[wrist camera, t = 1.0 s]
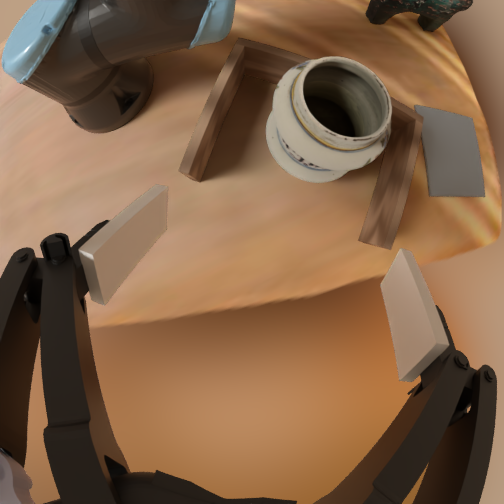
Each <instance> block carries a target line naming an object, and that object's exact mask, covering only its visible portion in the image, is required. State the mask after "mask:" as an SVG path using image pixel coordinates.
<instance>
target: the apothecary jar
mask: <svg viewBox="0 0 504 504" xmlns="http://www.w3.org/2000/svg"><path fill="white" fill-rule="evenodd" d="M272 107H273V110H272V111H271V113H270V115H269V117H268V120H267V124H266V140H267V144H268V147H269V150H270V152H271V154H272V156H273V157H274V159H275V160H276V162H277V163H278V164H279V165H280V166H281V168H282V169H284V170H285V171H286V172H288V173H289V174H291V175H292V176H294V177H296V178H299V179H301V180H304V181H308V182H314V183H323V182H329V181H333V180H336V179H338V178H340V177H342V176H344V175H345V174H346V173H347V172H349V171H350V170H355V169H359V168H361V167H364V166H366V165H368V164H369V163H371V162H372V161H374V160H375V159H376V158H377V157H378V156H379V155H380V154H381V153H382V151H383V150H384V148H385V147H386V145H387V143H388V140H389V137H390V133H391V114H392V105H391V99H390V96H389V93H388V91H387V89H386V87H385V86H384V84H383V83H382V81H381V80H380V79H379V78H378V76H377V75H376V74H375V73H373V72H372V71H371V70H370V69H369V68H367V67H366V66H364V65H362V64H361V63H359V62H357V61H354V60H352V59H349V58H345V57H339V56H330V57H323V58H320V59H314V60H309V61H305V62H302V63H300V64H298V65H296V66H294V67H293V68H291V69H290V70H289V71H287V72H286V73H285V74H284V75H283V77H282V78H281V79H280V81H279V82H278V84H277V86H276V89H275V92H274V95H273V103H272Z"/></svg>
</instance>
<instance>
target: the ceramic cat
mask: <svg viewBox="0 0 504 504" xmlns="http://www.w3.org/2000/svg"><path fill="white" fill-rule="evenodd" d="M472 3H473V0H370V3H369V7H368V9H367V11H366V16H367V17H368V18H369V20H370V22H371V23H374V24H384V23H385V22H386V21H387V20H388V19H389V18H391V17H392V16H394V15H395V14H399V13H402V12H413V13H416V14H420V16H419V18H418V22H419V24H420V26H421V27H422V28H423V30H428V31H431V32H433V31H434V30H436V29H437V28H439V27H440V26H441V25H442V24H443V23H445V22H446V21H448V20H449V19H450V18H451V17H452V16H453V15H454V14H455V13H457V12H459V11H464V10H466V9H468V8H469V7H470V6H471V5H472Z"/></svg>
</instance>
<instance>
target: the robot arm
mask: <svg viewBox="0 0 504 504" xmlns="http://www.w3.org/2000/svg"><path fill="white" fill-rule="evenodd" d="M235 1H236V0H37V1H36V2H35V3H34V4H33V5H32V6H31V7H30V8H29V9H28V11H27V12H26V13H25V14H24V15H23V17H22V18H21V19H20V21H19V22H18V23H17V25H16V26H15V28H14V29H13V31H12V33H11V35H10V36H9V38H8V40H7V43H6V45H5V48H4V51H3V55H2V67H3V69H4V71H5V72H6V73H7V74H8V75H10V76H11V77H13V78H15V79H16V81H17V82H18V83H20V84H21V83H22V84H24V85H26V86H28V87H30V88H32V89H34V90H36V91H38V92H40V93H42V94H43V95H45V96H47V97H49V98H51V99H53V100H55V101H57V102H59V103H61V104H62V105H63V106H64V108H65V109H66V111H67V113H68V114H69V116H70V118H71V119H72V121H73V122H74V123H75V124H76V125H77V126H79V127H80V128H82V129H84V130H86V131H88V132H92V133H105V132H109V131H112V130H115V129H117V128H119V127H121V126H122V125H124V124H126V123H127V122H128V121H130V120H131V119H132V118H133V117H134V116H135V115H136V114H137V113H138V112H139V111H140V110H141V108H142V107H143V106H144V104H145V103H146V101H147V99H148V97H149V95H150V93H151V90H152V86H153V71H152V68H151V66H150V64H149V62H148V61H147V59H146V58H145V57H149V56H153V55H157V54H161V53H165V52H170V51H174V50H179V49H185V48H187V49H191V48H194V47H195V46H199V45H204V44H210V43H215V42H219V41H221V40H223V39H224V38H225V37H226V36H227V35H228V34H229V32H230V30H231V27H232V23H233V18H234V10H235ZM167 205H168V186H163V185H158V184H156V185H154V186H153V187H152V188H150V189H149V190H148V191H146V192H145V193H144V194H143V195H141V196H140V197H139V198H137V199H136V200H135V201H134V202H132V203H131V204H130V205H129V206H127V207H126V208H125V209H124V210H123V211H121V212H120V213H119V214H118V215H117V216H115V217H114V218H113V219H112V220H111V221H109V220H105V221H103V222H101V223H99V224H97V225H96V226H95V227H94V228H92V229H91V231H89V232H88V233H87V234H86V235H85V236H83V237H82V238H81V239H80V240H79V241H78V242H76V243H75V244H74V245H73V246H72V247H70V243H69V238H68V236H67V235H66V234H63V233H55V234H52V235H49V236H48V237H46V238H45V239H44V240H43V241H42V242H41V244H40V247H41V250H42V254H43V257H44V258H36V256H35V253H34V250H33V249H32V248H28V247H27V248H22V249H19V250H18V251H16V252H15V253H14V254H13V255H12V257H11V259H10V260H9V262H8V264H7V266H6V268H5V270H4V272H3V274H2V276H1V278H0V504H35V503H34V502H33V500H32V498H31V496H30V492H29V489H31V487H32V481H31V479H30V477H29V476H28V475H27V474H26V472H25V470H24V465H25V458H26V449H27V424H28V409H29V398H30V390H31V382H32V375H33V369H34V363H35V358H36V353H37V348H38V343H39V339H40V348H41V367H42V379H43V390H44V398H45V405H46V412H47V418H48V426H47V427H46V428H45V429H44V433H43V435H44V443H45V448H46V452H47V456H48V460H49V463H50V467H51V471H52V474H53V477H54V480H55V483H56V487H57V489H58V492H59V495H60V499H57V500H54V501H51V502H48V503H44V504H296V503H297V501H292V500H280V499H271V498H264V497H262V498H245V499H225V498H222V497H219V496H217V495H215V494H213V493H211V492H209V491H207V490H205V489H203V488H201V487H199V486H198V485H195V484H194V483H192V482H190V481H187V480H184V479H181V478H178V477H174V476H172V475H169V474H165V473H163V472H160V471H158V470H156V472H155V473H152V472H133V473H131V472H130V470H129V467H128V465H127V462H126V460H125V458H124V455H123V454H122V452H121V450H120V448H119V446H118V444H117V443H116V440H115V437H114V434H113V431H112V428H111V425H110V422H109V418H108V415H107V412H106V408H105V404H104V401H103V397H102V393H101V389H100V385H99V380H98V376H97V372H96V367H95V362H94V356H93V351H92V345H91V339H90V333H89V325H88V317H87V308H86V300H85V297H84V296H85V295H86V293H87V292H88V291H89V293H90V296H91V299H92V300H93V301H95V302H97V303H99V304H102V305H104V306H105V305H106V304H107V303H108V301H109V300H110V299H111V297H112V296H113V295H114V293H115V292H116V291H117V289H118V288H119V287H120V286H121V284H122V283H123V282H124V280H125V279H126V278H127V277H128V275H129V274H130V273H131V272H132V270H133V269H134V268H135V267H136V265H137V264H138V263H139V262H140V260H141V259H142V258H143V257H144V256H145V254H146V253H147V252H148V251H149V250H150V248H151V247H152V246H153V245H154V244H155V243H156V241H157V240H158V239H159V238H160V237H161V236H162V234H163V233H164V232H165V231H166V230H167ZM380 286H381V290H382V294H383V298H384V303H385V307H386V311H387V316H388V320H389V324H390V329H391V334H392V340H393V345H394V351H395V356H396V362H397V369H398V375H399V381H407V382H412V381H414V380H415V379H416V378H417V377H418V376H419V375H420V376H421V382H420V383H419V384H418V385H417V386H415V387H414V388H413V389H412V390H411V391H410V392H408V395H409V394H410V393H412V394H411V396H410V397H409V399H408V400H407V402H406V403H405V405H404V406H403V408H402V409H401V411H400V412H399V414H398V415H397V416H396V418H395V420H394V421H393V422H392V423H391V425H390V426H389V427H388V429H387V430H386V431H385V433H384V434H383V435H382V437H381V438H380V439H379V440H378V442H377V443H376V444H375V445H374V447H373V448H372V449H371V450H370V452H369V453H368V454H367V455H366V456H365V457H364V459H363V460H362V461H361V462H360V463H359V464H358V465H357V466H356V467H355V469H354V470H353V471H352V472H351V473H350V474H349V475H348V476H347V477H346V478H345V479H344V480H343V481H342V482H341V483H340V484H339V485H338V486H337V487H336V488H335V489H334V490H333V491H332V492H330V493H329V494H328V495H326V496H324V497H323V498H321V499H319V500H318V501H316V502H315V503H314V504H402V502H403V501H404V499H405V498H406V497H407V495H408V494H409V492H410V491H411V489H412V488H413V486H414V485H415V483H416V482H417V480H418V479H419V477H420V476H421V474H422V472H423V471H424V469H425V468H426V466H427V464H428V463H429V464H428V467H427V469H426V472H425V475H424V478H423V480H422V483H421V485H420V488H419V490H418V493H417V495H416V497H415V499H414V501H413V504H479V502H480V498H481V495H482V491H483V488H484V484H485V479H486V476H487V471H488V467H489V462H490V456H491V450H492V444H493V436H494V428H495V416H496V400H497V378H496V375H495V372H494V370H493V369H492V368H491V367H490V366H488V365H483V366H482V367H481V368H480V369H479V370H475V369H473V368H471V367H470V365H469V361H468V359H467V357H466V356H465V355H464V354H463V353H462V352H460V351H458V350H456V349H455V346H454V343H453V340H452V337H451V334H450V331H449V329H448V326H447V323H446V321H445V318H444V315H443V313H442V311H441V310H440V309H439V307H438V306H437V305H435V304H434V301H433V299H432V296H431V294H430V292H429V289H428V287H427V285H426V282H425V280H424V277H423V275H422V273H421V271H420V269H419V266H418V264H417V262H416V260H415V258H414V256H413V254H412V252H411V251H409V250H406V249H403V248H400V250H399V252H398V254H397V255H396V257H395V259H394V261H393V263H392V265H391V267H390V268H389V270H388V272H387V274H386V276H385V277H384V279H383V281H382V283H381V284H380ZM470 406H471V408H470V411H469V412H468V413H467V408H468V407H470Z"/></svg>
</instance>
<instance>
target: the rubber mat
mask: <svg viewBox="0 0 504 504" xmlns="http://www.w3.org/2000/svg"><path fill="white" fill-rule="evenodd" d="M414 107H415V111H416V112H417V113H418V114H420V115H421V116H423V117H424V119H423V126H422V132H421V139H422V144H423V150H424V157H425V163H426V171H427V179H428V188H429V196H464V197H485V190H484V180H483V172H482V165H481V158H480V152H479V147H478V141H477V136H476V132H475V127H474V123H473V119H472V118H470V117H466V116H463V115H459V114H455V113H451V112H447V111H443V110H439V109H434V108H430V107H425V106H420V105H415V106H414Z"/></svg>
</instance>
